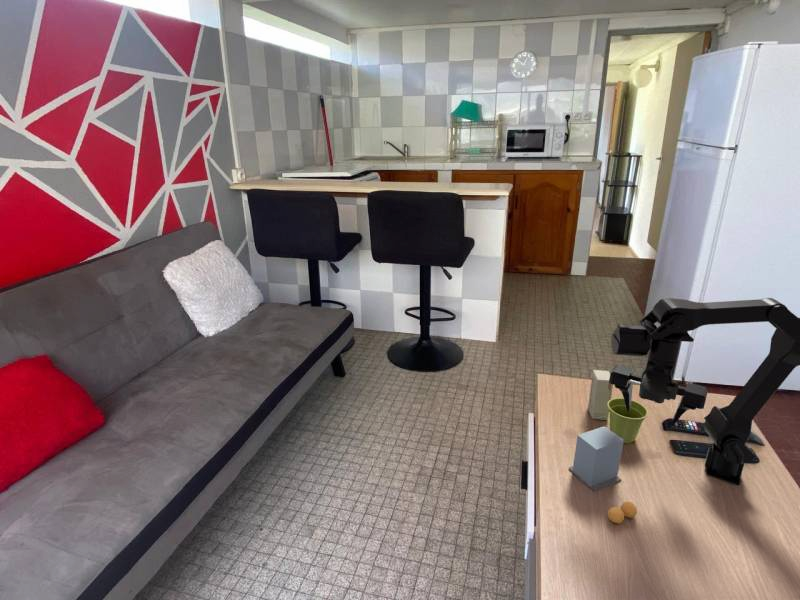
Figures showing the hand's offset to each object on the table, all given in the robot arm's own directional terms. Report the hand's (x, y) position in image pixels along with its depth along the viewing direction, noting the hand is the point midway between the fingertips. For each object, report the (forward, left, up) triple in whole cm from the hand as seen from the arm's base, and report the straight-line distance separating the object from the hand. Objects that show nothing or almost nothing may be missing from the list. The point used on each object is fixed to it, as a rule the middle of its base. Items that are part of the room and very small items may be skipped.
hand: (650, 417), depth 106 cm
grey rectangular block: (+8, +10, -13) cm, 18 cm away
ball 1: (+1, +22, -13) cm, 25 cm away
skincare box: (+14, -16, -13) cm, 25 cm away
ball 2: (-1, +18, -13) cm, 23 cm away
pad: (+8, +10, -13) cm, 18 cm away
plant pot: (+6, -9, -13) cm, 17 cm away
